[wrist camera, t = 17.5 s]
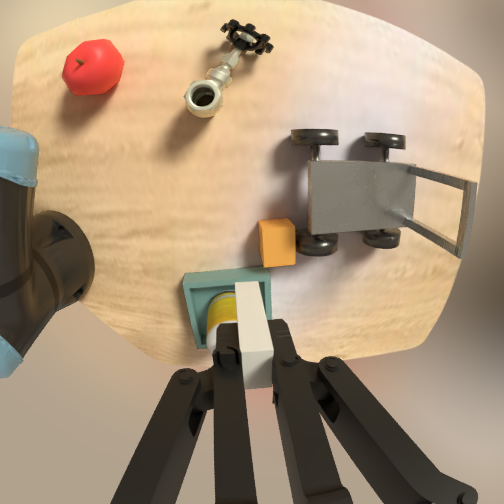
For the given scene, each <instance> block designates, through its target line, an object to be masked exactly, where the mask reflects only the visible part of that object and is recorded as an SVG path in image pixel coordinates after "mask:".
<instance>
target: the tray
mask: <svg viewBox="0 0 504 504" xmlns="http://www.w3.org/2000/svg"><path fill="white" fill-rule="evenodd" d="M252 281H258V283H259V288H260V292H261V296H262V301H263V305H264V310H265V314H266V318H267V320H272V308H271V280H270V273H269V270H268V267H266V268H264V266H258V267H248V268H238V269H228V270H217V271H207V272H196V273H185V276H184V279H183V283H182V284H183V289H184V294H185V299H186V303H187V308H188V312H189V317H190V321H191V325H192V330H193V334H194V338H195V342H196V346H197V349H202V348H208V347H207V343H206V338H207V317H208V305H209V302H210V300H211V299H212V298H213V296H215V295H216V294H217V293H219V292H221V291H225V290H235V282H252Z"/></svg>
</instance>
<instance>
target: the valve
mask: <svg viewBox="0 0 504 504" xmlns="http://www.w3.org/2000/svg"><path fill="white" fill-rule="evenodd" d="M255 29H256V27H255V26H254V25H252V24H249V23H248V24H246V25H245V26H242V25H240V24H239V22H238V21H236V20H234V19H232V20H230V21H229V23H228V24H227V23H225V24H224V25H223V26H222V27H221V29H220V30H221V31H222V32H224V33H225V32H226V31H229V33H228V35H227V37H226V38H227V39H228V40H229V41H230V42H231V43H232V45H231V48H232V49H233V50H232V52H231V53H226V54H225V56H224V57H223V59H222V60H221V64H222V65H221V66H217V67H216V69H214V68H210V69H209V70H208V72H207V73H206V77H207V79H206V80H200V81H193V82H192V84H191V85H190V87H189V88H188V90H187V92H186V93H185V95H184V98H185V99H186V105H187V108H188V110H189V111H190V112H191V113H192V114H193V115H195V116H197V117H201V118H206V117H210V116H215V114H216V113H217V112H218V111H219V110H220V109H221V107H222V105H223V94H222V90H223V89H224V87H228V86H229V85H230V83H231V82H232V78H231V77H230V76H229V75H230V73H231V72H230V69H234V68H235V66H236V65H237V63H238V62H239V58H238V56H239V55H240V54H246V52H247V51H254V50H255V53H256V54H259V55H262V53H263V52H264V51H265V49H266V51H265V52H266V53H270V52H271V51H272V49H273V48H274V46H273V45H272V44H270V43H268V41H269V40H270V37H269V36H268V35H266V34H259V33H257V32H256V31H254V30H255ZM236 31H240V32H242V33H241V35H239V34H238V33H237V32H236ZM254 38H255V39H256V40H257V42H256V43H253V40H254ZM203 95H211V96H213V97H214V100H213V101H212V102H211V103H210V104H209V105H207V106H203V107H200V106H196V103H197V100H198V99H199V98H200V97H201V96H203Z"/></svg>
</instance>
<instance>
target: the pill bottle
mask: <svg viewBox="0 0 504 504" xmlns="http://www.w3.org/2000/svg"><path fill="white" fill-rule="evenodd" d="M220 323H237V312H236V294H235V290H225V291H221V292H219V293H217V294H216V295H215V296H213V298H212V299H211V300H210V302H209V305H208V317H207V338H206V343H207V347H208V350H209V351H210V353H211V354H213V351H214V350H215V349H216V329H217V327H218V326H219V324H220Z"/></svg>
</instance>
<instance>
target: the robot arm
mask: <svg viewBox="0 0 504 504" xmlns="http://www.w3.org/2000/svg"><path fill="white" fill-rule="evenodd" d="M38 156H39V145H38V142H37V140H36V138H35V137H34V136H33V135H31V134H30V133H27V132H25V131H21V130H18V129H14V128H9V127H4V126H0V378H6V377H9V376H10V375H11V374H12V373H13V371H14V370H15V369H16V368H17V367H18V366H19V364H21V363H22V362H23V357H24V356H25V354H26V353H27V351H28V350H29V348H30V347H31V345H32V344H33V343H34V341H35V340H36V338H37V337H38V335H39V334H40V333H41V331H42V330H43V329H44V327H45V326H46V324H47V323H48V322H49V320H50V319H51V318H52V316H53V315H54V314H55V312H57V311H59V310H61V309H63V308H65V307H67V306H69V305H71V304H73V303H75V302H77V301H78V300H79V299H81V298H82V297H83V295H84V294H85V293H86V291H87V290H88V289H89V287H90V286H91V284H92V281H93V277H94V270H95V265H94V257H93V253H92V249H91V246H90V244H89V242H88V240H87V238H86V236H85V234H84V233H83V231H82V230H81V229H80V227H79V226H78V225H77V224H76V223H75V222H74V221H73V220H72V219H70V218H69V217H68V216H66V215H64V214H62V213H60V212H57V211H43V212H40V213H38V214H36V215H34V216H33V208H34V197H35V188H36V187H37V183H38V181H37V179H36V177H37V166H38ZM235 294H236V312H237V323H220V324H219V326H218V327H217V329H216V349H215V350H214V351H213V354H212V356H213V363H214V365H213V366H212V367H211V368H209V369H208V370H205V371H202V372H199V373H198V372H196V371H195V370H193V369H190V368H184V369H180V370H178V371H176V372H175V373H174V374H173V375H172V377H171V379H170V381H169V383H168V385H167V387H166V389H165V391H164V393H163V395H162V397H161V399H160V401H159V403H158V405H157V407H156V410H155V411H154V414H153V415H152V418H151V419H150V421H149V424H148V426H147V428H146V430H145V432H144V434H143V436H142V438H141V440H140V442H139V444H138V446H137V448H136V450H135V453H134V455H133V457H132V459H131V461H130V463H129V465H128V467H127V469H126V471H125V474H124V475H123V478H122V480H121V482H120V484H119V486H118V488H117V490H116V492H115V495H114V497H113V499H112V501H111V503H110V504H175V503H176V500H177V497H178V494H179V491H180V489H181V485H182V483H183V480H184V477H185V474H186V471H187V468H188V465H189V463H190V460H191V456H192V454H193V450H194V448H195V445H196V442H197V439H198V436H199V433H200V430H201V427H202V424H203V421H204V419H205V415H206V413H207V410H210V409H214V470H215V504H258V503H257V496H256V488H255V480H254V472H253V463H252V455H251V447H250V437H249V427H248V418H247V409H246V399H245V389H255V388H266V387H272V384H273V403H275V408H276V414H277V419H278V424H279V430H280V435H281V440H282V446H283V451H284V456H285V461H286V467H287V472H288V476H289V482H290V487H291V492H292V498H293V502H294V504H353V502H352V498H351V495H350V493H349V491H348V490H347V489H346V488H345V487H343V486H342V484H341V481H340V478H339V474H338V471H337V468H336V465H335V461H334V458H333V455H332V452H331V448H330V445H329V442H328V439H327V436H326V433H325V429H324V426H323V423H322V420H321V417H320V414H321V415H322V417H323V418H324V420H325V421H326V423H327V424H328V426H329V427H330V429H331V430H332V432H333V433H334V434H335V436H336V437H337V439H338V440H339V442H340V443H341V445H342V446H343V448H344V449H345V450H346V452H347V453H348V455H349V456H350V458H351V459H352V460H353V462H354V463H355V465H356V466H357V467H358V469H359V470H360V472H361V473H362V474H363V476H364V477H365V479H366V480H367V481H368V483H369V484H370V485H371V487H372V488H373V489H374V491H375V492H376V494H377V495H378V496H379V498H380V499H381V500H382V502H383V503H384V504H476V503H477V500H478V493H477V491H476V489H474V488H473V487H471V486H469V485H467V484H465V483H462V482H460V481H458V480H456V479H454V478H452V477H449V476H447V475H445V474H443V473H441V472H440V471H439V470H438V469H437V468H436V467H435V465H434V464H433V463H432V462H431V461H430V460H429V459H428V458H427V457H426V455H425V454H424V453H423V452H422V451H421V450H420V448H419V447H418V446H417V445H416V444H415V443H414V442H413V440H412V439H411V438H410V437H409V436H408V435H407V434H406V432H405V431H404V430H403V429H402V428H401V427H400V426H399V425H398V423H397V422H396V421H395V420H394V419H393V418H392V416H391V415H390V414H389V413H388V412H387V411H386V410H385V408H384V407H383V406H382V405H381V404H380V403H379V402H378V400H377V399H376V398H375V397H374V396H373V395H372V394H371V392H370V391H369V390H368V389H367V388H366V387H365V386H364V384H363V383H362V382H361V381H360V380H359V379H358V377H357V376H356V375H355V374H354V373H353V372H352V371H351V369H350V368H349V367H348V366H347V365H346V364H345V363H344V361H342V360H341V359H340V358H337V357H333V356H329V357H325V358H323V359H321V360H320V362H319V363H315V362H308V361H305V360H303V359H301V357H300V356H299V355H297V353H296V350H295V347H294V343H293V340H292V337H291V334H290V331H289V328H288V325H287V323H286V322H285V321H284V320H283V319H274V320H267V318H266V314H265V310H264V305H263V301H262V296H261V292H260V288H259V283H258V281H252V282H235ZM319 412H320V414H319Z"/></svg>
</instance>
